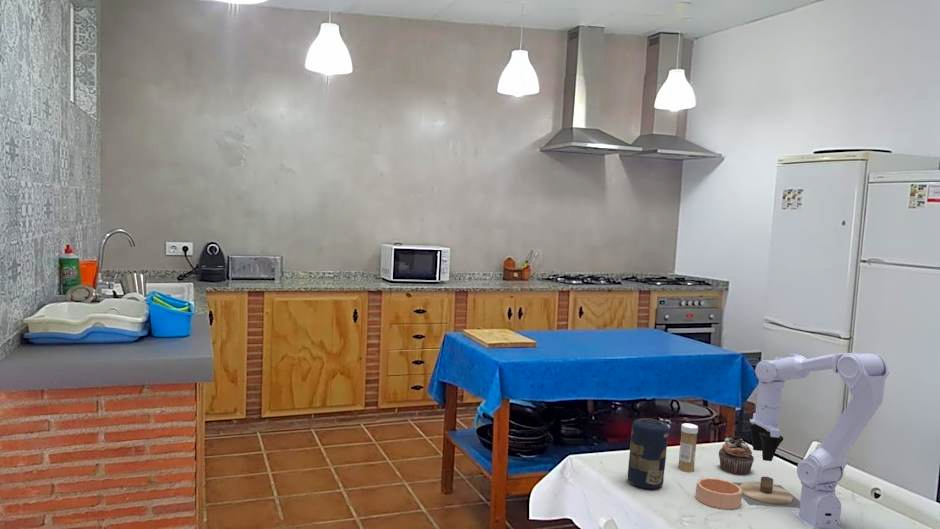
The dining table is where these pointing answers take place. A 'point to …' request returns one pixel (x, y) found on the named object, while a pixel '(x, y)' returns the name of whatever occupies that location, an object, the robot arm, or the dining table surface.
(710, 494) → the bowl
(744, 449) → the cupcake
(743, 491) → the lid
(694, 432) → the sprinkles bottle
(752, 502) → the mat
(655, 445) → the navy canister
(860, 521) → the dining table surface
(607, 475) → the dining table surface
